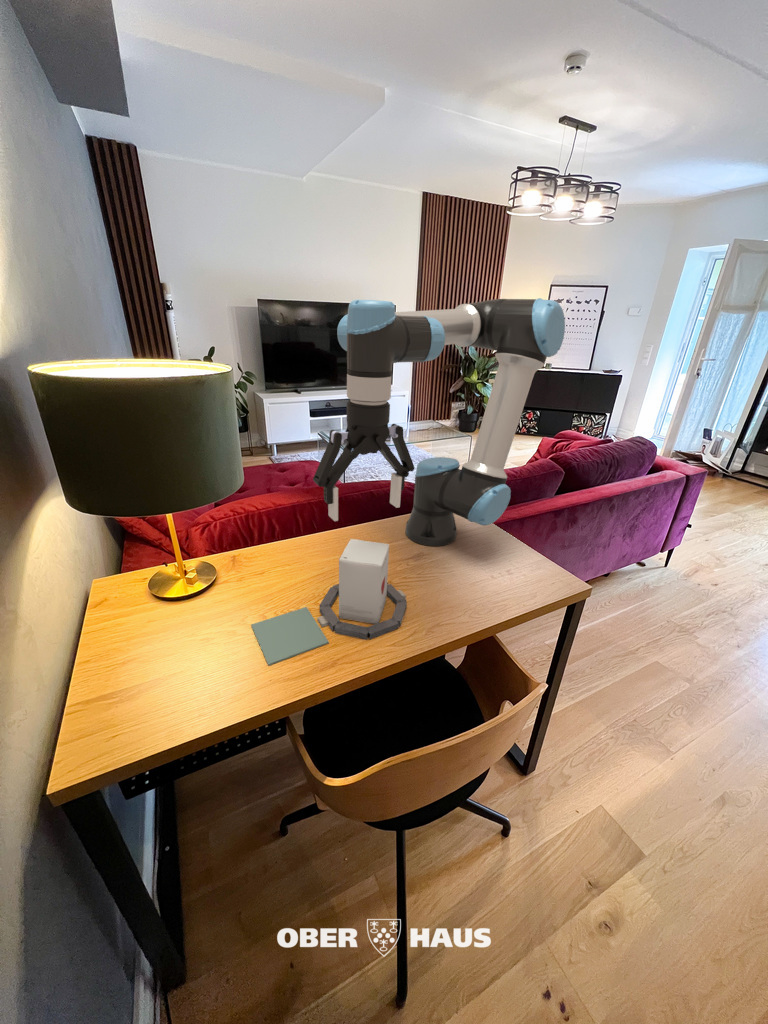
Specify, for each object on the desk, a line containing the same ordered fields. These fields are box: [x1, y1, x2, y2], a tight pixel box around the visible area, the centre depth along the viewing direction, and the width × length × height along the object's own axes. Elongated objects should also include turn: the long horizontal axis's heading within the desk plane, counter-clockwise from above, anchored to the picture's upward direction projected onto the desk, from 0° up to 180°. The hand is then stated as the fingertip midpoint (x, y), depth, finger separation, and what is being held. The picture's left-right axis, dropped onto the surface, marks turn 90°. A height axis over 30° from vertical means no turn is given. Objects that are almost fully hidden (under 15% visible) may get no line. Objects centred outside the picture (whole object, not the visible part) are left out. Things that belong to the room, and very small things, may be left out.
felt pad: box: [250, 606, 330, 667], centre depth 82 cm, size 12×12×1 cm
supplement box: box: [338, 538, 390, 625], centre depth 87 cm, size 9×9×15 cm
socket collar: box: [316, 582, 408, 641], centre depth 90 cm, size 21×18×2 cm
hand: (365, 511), depth 80 cm, fingers open, 13 cm apart
